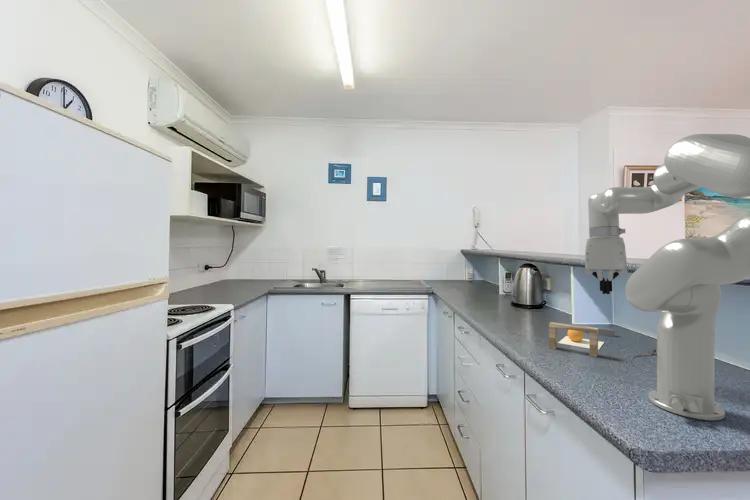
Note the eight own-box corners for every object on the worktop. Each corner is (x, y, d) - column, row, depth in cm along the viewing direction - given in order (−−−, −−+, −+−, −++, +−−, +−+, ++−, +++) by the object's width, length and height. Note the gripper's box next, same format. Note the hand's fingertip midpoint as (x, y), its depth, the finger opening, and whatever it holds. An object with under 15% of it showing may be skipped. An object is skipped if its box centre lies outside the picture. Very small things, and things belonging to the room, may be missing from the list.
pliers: (631, 360, 103) (629, 345, 119) (631, 362, 103) (629, 347, 119) (671, 366, 97) (664, 350, 113) (671, 369, 97) (664, 352, 113)
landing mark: (598, 350, 114) (598, 349, 114) (557, 343, 123) (557, 342, 123) (604, 342, 124) (604, 342, 124) (566, 336, 132) (566, 335, 132)
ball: (584, 341, 126) (582, 345, 122) (568, 337, 129) (565, 341, 125) (585, 327, 125) (583, 331, 121) (569, 324, 129) (566, 327, 124)
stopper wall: (613, 336, 132) (613, 330, 132) (569, 330, 143) (569, 324, 143) (614, 335, 133) (614, 329, 133) (570, 329, 144) (570, 323, 144)
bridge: (596, 357, 107) (596, 330, 107) (549, 348, 117) (549, 323, 117) (598, 355, 109) (598, 328, 109) (551, 346, 119) (551, 321, 119)
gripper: (635, 233, 96) (638, 294, 95) (577, 236, 105) (579, 291, 104) (635, 231, 90) (637, 296, 89) (573, 234, 100) (575, 293, 99)
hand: (606, 293), depth 97 cm, fingers closed
